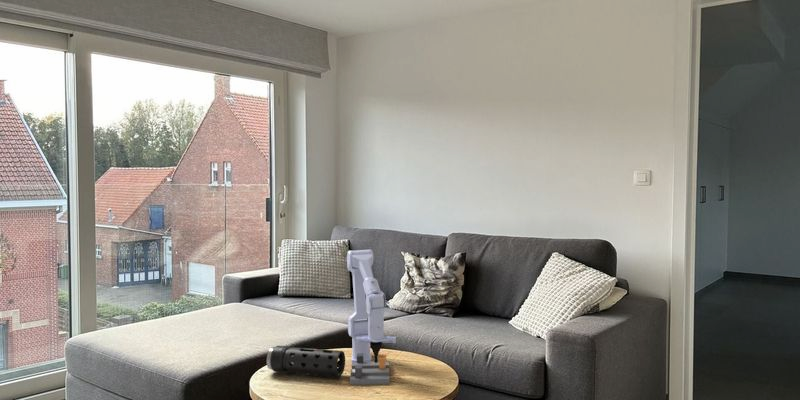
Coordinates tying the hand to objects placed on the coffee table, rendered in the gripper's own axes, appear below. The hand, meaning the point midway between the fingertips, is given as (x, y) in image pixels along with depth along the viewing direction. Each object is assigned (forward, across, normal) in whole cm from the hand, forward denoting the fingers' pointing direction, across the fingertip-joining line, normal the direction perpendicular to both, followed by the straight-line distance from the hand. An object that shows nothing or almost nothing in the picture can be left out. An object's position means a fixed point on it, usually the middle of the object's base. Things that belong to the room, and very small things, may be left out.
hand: (376, 362), depth 225 cm
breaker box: (+5, -2, 0) cm, 5 cm away
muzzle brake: (+5, -26, +1) cm, 27 cm away
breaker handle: (+3, +2, 0) cm, 3 cm away
